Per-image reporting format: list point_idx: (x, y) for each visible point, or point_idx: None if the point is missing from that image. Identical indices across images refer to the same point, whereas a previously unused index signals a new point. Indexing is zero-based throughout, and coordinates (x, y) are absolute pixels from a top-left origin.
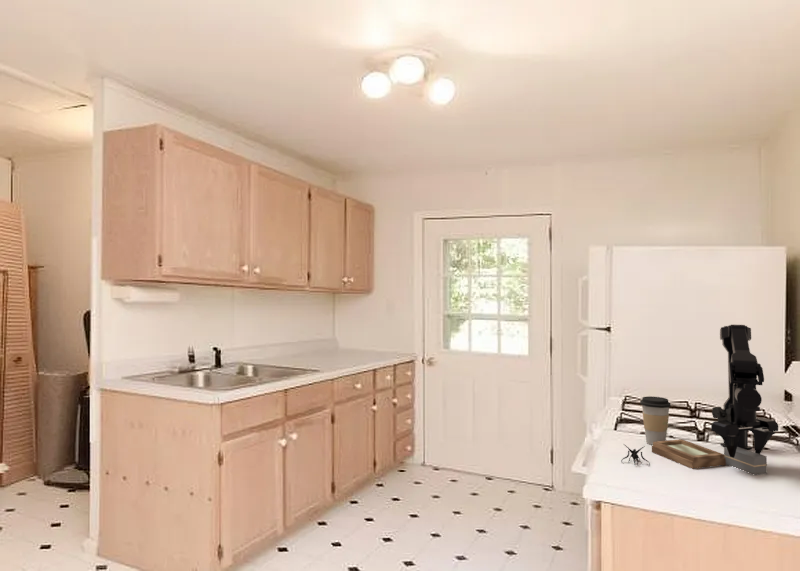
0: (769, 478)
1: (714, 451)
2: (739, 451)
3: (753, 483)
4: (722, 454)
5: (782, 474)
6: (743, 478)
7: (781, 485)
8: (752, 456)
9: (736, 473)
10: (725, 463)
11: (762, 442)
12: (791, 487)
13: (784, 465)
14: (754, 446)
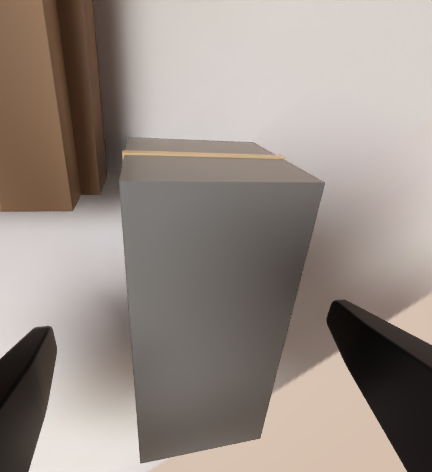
0: None
1: (26, 64)
2: (170, 340)
3: None
4: (46, 207)
5: (281, 357)
6: None
7: None
8: (152, 446)
9: (45, 323)
10: (104, 177)
11: (406, 452)
12: None
13: (428, 267)
14: (380, 337)
